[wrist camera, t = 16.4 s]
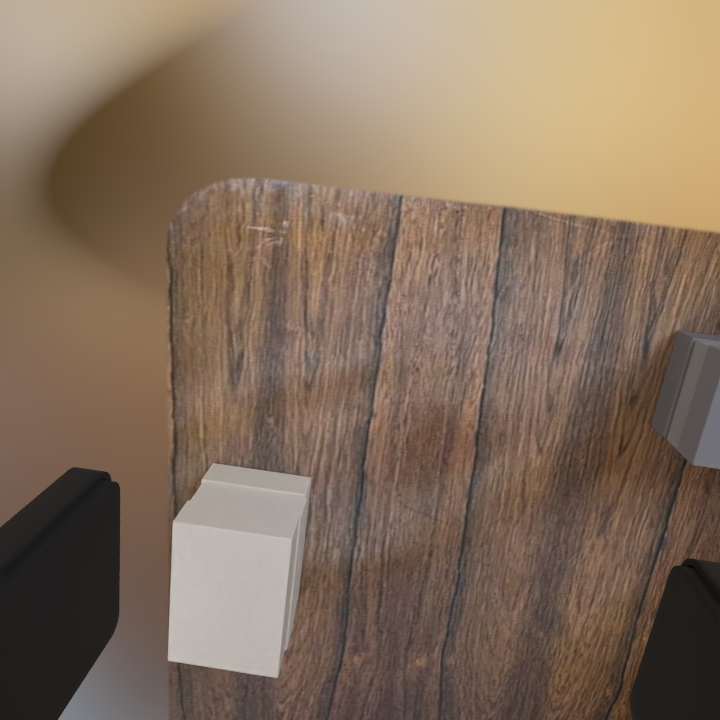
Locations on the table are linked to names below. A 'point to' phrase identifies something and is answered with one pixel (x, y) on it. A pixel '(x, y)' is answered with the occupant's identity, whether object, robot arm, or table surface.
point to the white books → (262, 504)
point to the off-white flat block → (231, 587)
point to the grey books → (692, 399)
